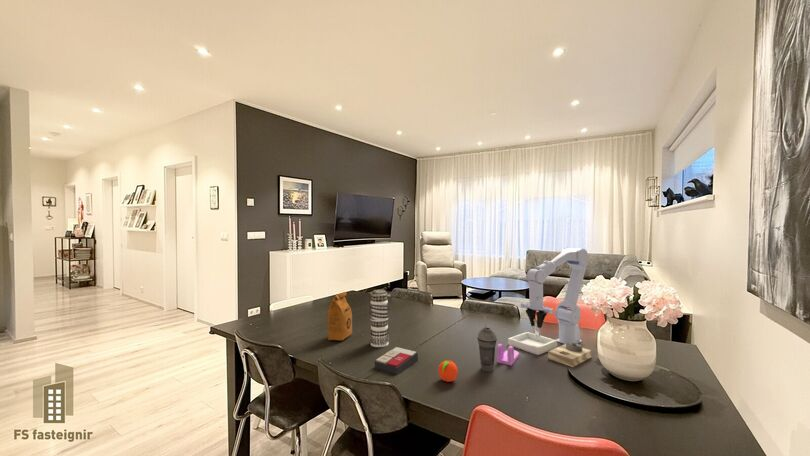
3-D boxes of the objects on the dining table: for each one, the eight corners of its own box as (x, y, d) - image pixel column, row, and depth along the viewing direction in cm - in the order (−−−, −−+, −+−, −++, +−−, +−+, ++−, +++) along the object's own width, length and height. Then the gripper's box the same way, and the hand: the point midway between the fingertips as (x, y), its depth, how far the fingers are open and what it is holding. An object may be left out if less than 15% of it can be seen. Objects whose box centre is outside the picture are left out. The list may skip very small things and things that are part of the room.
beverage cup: (486, 374, 119) (486, 320, 119) (473, 367, 125) (473, 315, 125) (501, 370, 122) (500, 317, 122) (488, 363, 129) (487, 313, 129)
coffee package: (355, 334, 165) (355, 291, 165) (342, 343, 153) (342, 296, 153) (338, 332, 168) (338, 290, 168) (324, 340, 156) (324, 295, 156)
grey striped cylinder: (366, 345, 149) (365, 291, 149) (375, 339, 158) (374, 288, 157) (384, 348, 146) (383, 293, 145) (392, 341, 154) (391, 289, 154)
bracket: (511, 365, 126) (511, 348, 126) (497, 362, 130) (497, 345, 130) (520, 354, 137) (520, 338, 137) (507, 352, 140) (507, 336, 140)
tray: (527, 337, 157) (527, 331, 157) (557, 347, 145) (557, 340, 145) (508, 344, 148) (508, 338, 148) (538, 355, 136) (538, 348, 136)
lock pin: (536, 335, 146) (535, 317, 146) (542, 337, 143) (540, 318, 144) (533, 337, 144) (531, 319, 144) (539, 338, 142) (537, 319, 142)
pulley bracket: (567, 350, 141) (566, 337, 141) (591, 357, 133) (591, 344, 133) (548, 358, 132) (548, 345, 132) (572, 367, 124) (572, 352, 124)
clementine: (452, 388, 109) (451, 367, 109) (433, 383, 113) (433, 363, 113) (461, 379, 116) (460, 359, 116) (443, 374, 120) (443, 355, 120)
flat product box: (373, 359, 126) (396, 345, 138) (374, 370, 126) (396, 355, 139) (397, 365, 120) (418, 350, 132) (397, 377, 120) (418, 360, 133)
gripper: (516, 294, 147) (516, 324, 148) (546, 300, 136) (547, 332, 136) (525, 292, 152) (525, 321, 152) (555, 298, 140) (555, 329, 140)
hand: (536, 326), depth 144 cm, fingers closed on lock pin, 3 cm apart
